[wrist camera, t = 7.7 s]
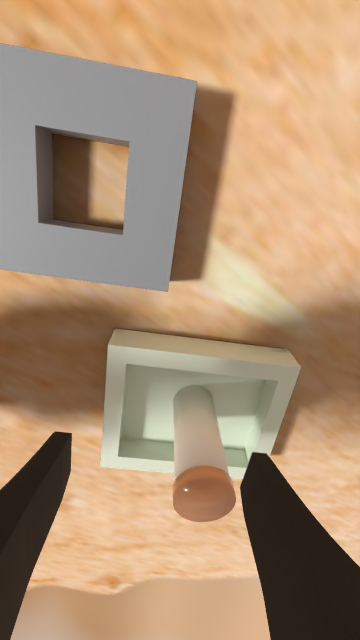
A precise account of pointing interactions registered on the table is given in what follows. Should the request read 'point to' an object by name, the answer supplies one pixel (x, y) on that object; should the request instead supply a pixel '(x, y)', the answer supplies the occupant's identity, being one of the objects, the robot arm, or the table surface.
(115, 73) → the grey square frame
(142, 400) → the parts tray
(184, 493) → the cylinder
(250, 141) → the table surface
